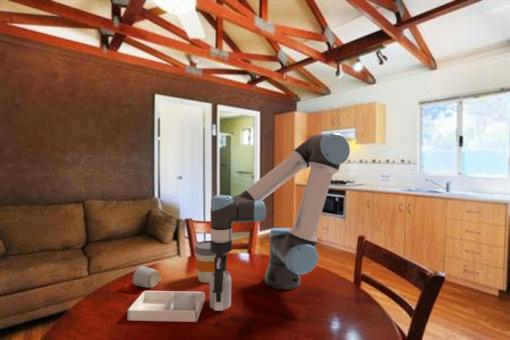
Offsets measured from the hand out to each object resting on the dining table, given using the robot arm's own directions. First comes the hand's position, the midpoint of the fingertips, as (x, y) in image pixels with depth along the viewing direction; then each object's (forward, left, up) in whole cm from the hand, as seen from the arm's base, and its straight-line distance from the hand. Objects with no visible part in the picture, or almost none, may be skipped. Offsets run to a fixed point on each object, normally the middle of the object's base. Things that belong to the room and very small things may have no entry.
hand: (220, 303), depth 97 cm
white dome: (+12, +4, 0) cm, 12 cm away
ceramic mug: (+32, -16, -1) cm, 35 cm away
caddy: (+17, +4, -1) cm, 18 cm away
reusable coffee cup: (+8, -23, -1) cm, 24 cm away
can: (0, 0, -1) cm, 1 cm away
